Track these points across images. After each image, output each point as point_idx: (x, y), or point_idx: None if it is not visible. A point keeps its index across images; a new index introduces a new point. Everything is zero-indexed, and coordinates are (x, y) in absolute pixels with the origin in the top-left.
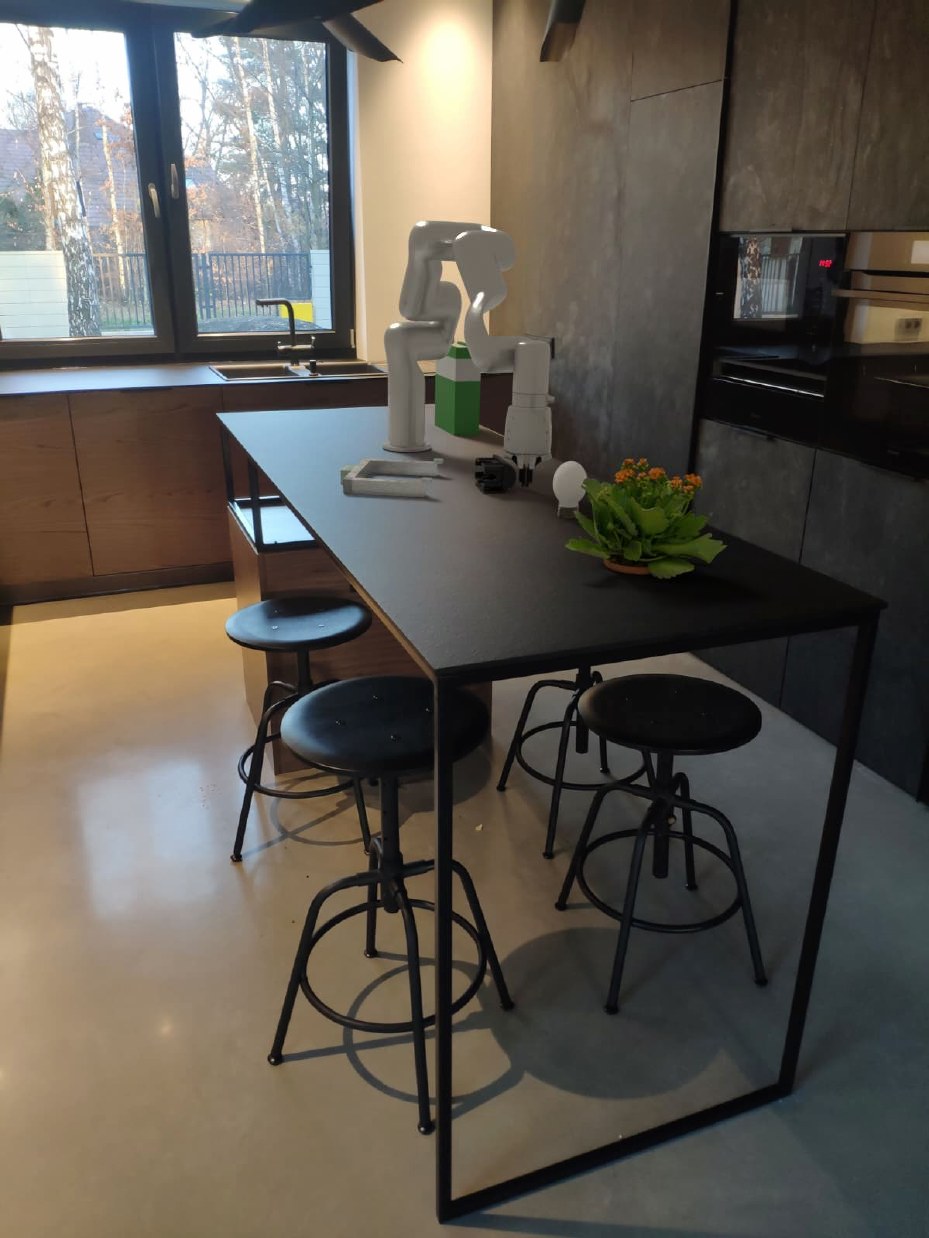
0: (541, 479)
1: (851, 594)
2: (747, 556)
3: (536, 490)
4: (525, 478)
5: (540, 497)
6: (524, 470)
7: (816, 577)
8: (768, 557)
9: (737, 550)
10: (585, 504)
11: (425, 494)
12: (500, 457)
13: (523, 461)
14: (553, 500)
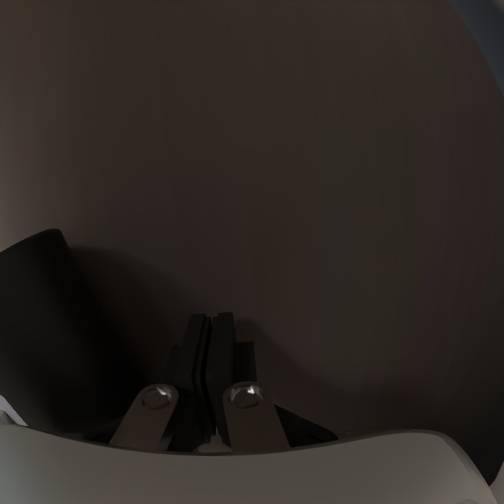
0: (278, 51)
1: (490, 484)
2: (487, 471)
3: (274, 316)
4: (206, 329)
5: (296, 409)
6: (209, 437)
7: (495, 475)
8: (500, 462)
9: (492, 464)
10: (422, 415)
11: (8, 421)
12: (2, 364)
13: (175, 426)
14: (340, 422)
